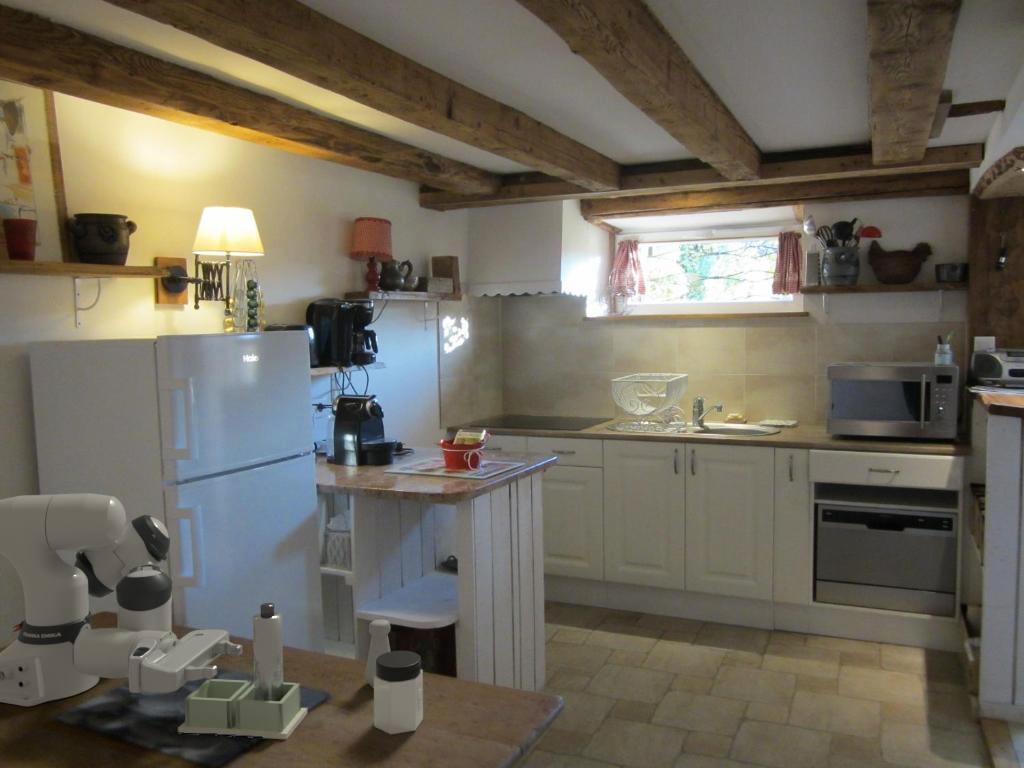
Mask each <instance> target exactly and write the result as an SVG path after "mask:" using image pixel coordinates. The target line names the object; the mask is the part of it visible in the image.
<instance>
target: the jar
mask: <svg viewBox="0 0 1024 768" xmlns="http://www.w3.org/2000/svg"><path fill="white" fill-rule="evenodd" d="M423 671H424V670H423V669H422V658H421V655H419V654H418V653H416V652H414V651H409V650H393V651H390V652H387V653H384V654H382V655H380V656H379V657H378V658H377V659H376V675H375V676H374V688H373V719H374V720H373V726H374V727H375V728H377V729H378V730H380V731H383V732H385V733H387V734H389V735H396V734H403V733H409V732H414V731H416V730H417V728H419V726H420V724H422V721H423V719H424V688H423V687H424V686H423V685H424V681H423V680H424V679H423V678H424V675H423V673H424V672H423Z"/></svg>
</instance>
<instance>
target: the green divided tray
mask: <svg viewBox="0 0 1024 768" xmlns="http://www.w3.org/2000/svg"><path fill="white" fill-rule="evenodd" d="M301 686H302V685H301V683H300V682H286V681H285V682H284V681H283V698H282V699H281V701H261V700H255V696H254V683H253V680H244V679H243V680H242V679H241V680H239V679H222V678H221V679H220V678H212V679H208V678H206V680H205V681H204V682H203V683H201V685H199V686H197V688H196V689H194V690H193V691H192V692H191V693H190V694H188V695H187V696H186V697H185V698H184V717H185V718H184V721H183V723H181V724H180V725H179V726H178V727H177V733H178V732H184V733H217V734H229V735H230V734H236V735H250V736H251V735H252V736H262V737H263V738H262V739H271V740H272V739H277V740H287V739H289V737H291V735H292V733H294V731H295V730H296V729H297V727H298V726H299V724H301V722H302V721H303V720H304V718H305V717H306V715H308V707H301V705H302V704H301V703H302V702H301V701H302V697H301V694H302V693H301V690H302V689H301Z"/></svg>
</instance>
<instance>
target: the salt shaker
mask: <svg viewBox="0 0 1024 768" xmlns="http://www.w3.org/2000/svg"><path fill="white" fill-rule="evenodd" d="M368 631H369V634H370V635H371V638H370V645H369V649H368V655H367V662H366V667H365V672H364V673H365V679H366V680H367V681H368V684H369V685H370V687H371V688H372V689H374V676H375V675H376V659H377V658H378V657H379V656H380V655H382V654H384V653H387V652H391V647H390V640H389V635H388V634H390V632H391V624H390V621H388V620H386V619H374V620H372V621H371V622H370V623H369V626H368Z"/></svg>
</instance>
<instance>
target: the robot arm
mask: <svg viewBox="0 0 1024 768" xmlns="http://www.w3.org/2000/svg"><path fill="white" fill-rule="evenodd" d="M126 523H127V515H126V510H125V507H124V505H123V504H122V502H121V501H120V500H119V499H118V498H117V497H116V496H114V495H108V494H107V495H106V494H101V493H88V492H86V493H85V492H84V493H57V494H55V493H54V494H53V493H52V494H32V495H31V494H30V495H29V494H28V495H27V494H25V495H24V494H23V495H16V496H12V497H7V498H2V499H0V554H1V555H2V556H4V557H5V558H6V559H7V560H8V561H9V562H10V564H11V565H12V566H13V567H14V569H15V571H16V572H17V574H18V576H19V578H20V580H21V584H22V590H23V597H24V609H25V619H24V620H22V621H21V622H20V623H18V624H16V625H15V626H12V629H14V630H13V631H12V633H16V632H18V631H19V630H20V631H19V634H18V635H17V639H16V640H14V641H13V642H11V644H9V645H8V646H6V648H5V649H3V650H2V651H1V652H0V703H5V704H11V705H14V706H15V705H17V706H21V707H33V706H36V705H40V704H43V703H46V702H50V701H55V700H56V701H57V700H60V699H64V698H65V699H66V698H68V697H72V696H76V695H78V694H82V693H83V692H85V691H88V690H90V689H91V688H93V687H94V686H96V685H97V684H98V683H99V681H100V678H106V679H122V678H128V688H129V693H131V694H139V693H140V694H141V693H142V692H144V693H153V694H169V693H173V692H176V691H178V690H179V689H180V688H182V687H183V686H184V685H185V684H187V682H193V681H197V680H203V679H214V678H215V677H216V676H217V675H218V667H217V665H212V664H211V663H213V662H214V661H215V660H216V659H217V658H218V657H220V656H221V655H225V654H229V657H230V658H231V657H235V658H237V657H239V656H241V655H242V654H243V645H242V644H238V643H237V644H235V643H233V642H231V641H230V633H229V632H228V631H227V630H224V629H197V630H195V629H194V630H192V631H190V632H188V633H186V634H185V635H184V636H182V637H181V638H180V639H179V638H178V637H177V635H176V634H175V633H174V632H173V631H172V602H173V580H172V578H171V577H170V576H169V575H168V574H167V573H165V572H164V571H163V570H162V569H161V567H160V566H159V565H160V563H161V562H162V561H165V562H166V561H167V559H168V556H167V553H168V551H169V548H170V542H171V538H170V535H169V531H168V529H167V528H166V526H165V524H164V523H163V522H162V521H160V520H159V519H157V518H155V517H153V516H152V515H149V514H143V515H140V516H138V517H136V518H134V519H132V520H131V522H130V523H127V524H126ZM60 550H61V551H62V550H63V551H66V552H76V553H75V558H76V560H75V562H74V564H70V563H67V562H66V561H64V559H62V558H61V557H60V556H59V554H58V552H57V551H60ZM113 592H115V593H116V594H115V596H116V603H117V604H116V606H117V607H116V608H117V627H107V628H105V627H103V628H102V627H101V628H100V627H99V628H93V627H92V626H93V625H92V624H93V623H92V622H93V621H92V613H91V611H90V610H89V609H90V607H89V603H90V602H89V596H91V597H93V598H97V599H98V598H99V599H100V598H104V597H106V596H108V595H110V594H112V593H113Z"/></svg>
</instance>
